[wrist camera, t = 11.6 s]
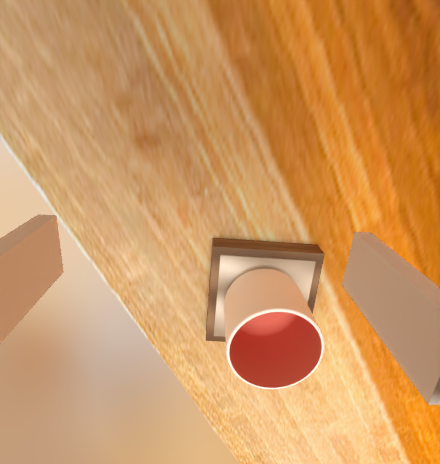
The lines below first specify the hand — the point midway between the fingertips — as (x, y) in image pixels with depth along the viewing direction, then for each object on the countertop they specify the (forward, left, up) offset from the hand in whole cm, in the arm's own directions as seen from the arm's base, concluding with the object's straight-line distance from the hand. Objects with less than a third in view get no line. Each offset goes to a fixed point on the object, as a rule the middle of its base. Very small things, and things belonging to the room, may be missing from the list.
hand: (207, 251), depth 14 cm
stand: (+16, +8, -27) cm, 32 cm away
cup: (+16, +8, -24) cm, 30 cm away
